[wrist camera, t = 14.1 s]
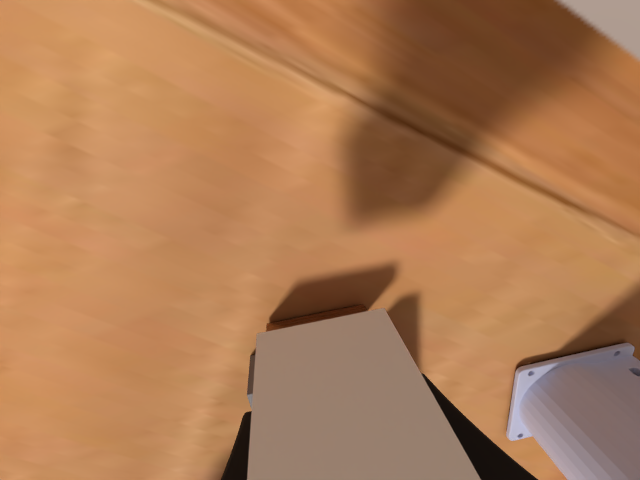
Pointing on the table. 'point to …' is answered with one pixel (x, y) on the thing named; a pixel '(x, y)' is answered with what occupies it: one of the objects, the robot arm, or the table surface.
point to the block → (347, 407)
